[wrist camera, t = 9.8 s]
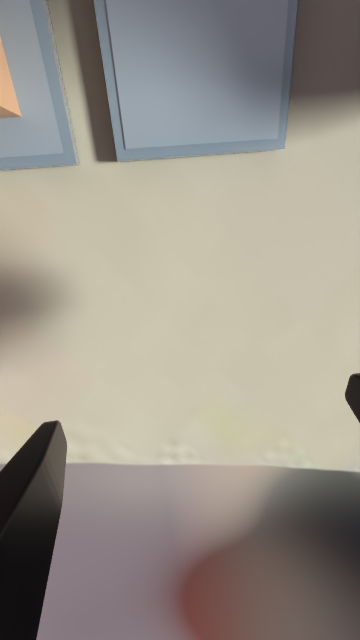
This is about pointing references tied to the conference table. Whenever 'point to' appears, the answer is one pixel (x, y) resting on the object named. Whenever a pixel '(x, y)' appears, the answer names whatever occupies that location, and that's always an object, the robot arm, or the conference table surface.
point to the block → (7, 89)
